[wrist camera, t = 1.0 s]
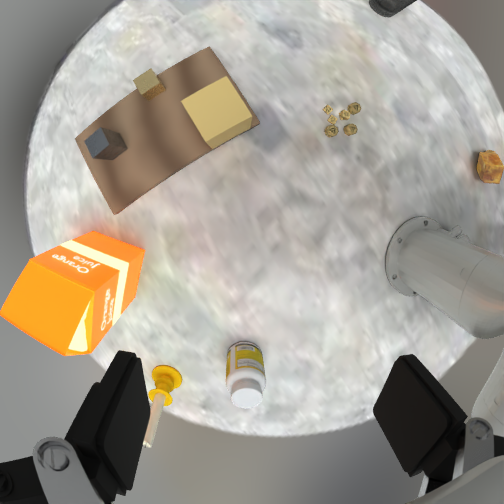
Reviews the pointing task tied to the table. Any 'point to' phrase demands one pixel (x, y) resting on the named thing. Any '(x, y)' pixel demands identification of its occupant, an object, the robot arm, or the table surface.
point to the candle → (160, 397)
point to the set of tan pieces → (344, 115)
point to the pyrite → (489, 167)
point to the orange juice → (75, 292)
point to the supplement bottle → (245, 375)
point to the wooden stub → (149, 85)
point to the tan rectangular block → (218, 112)
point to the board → (154, 132)
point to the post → (105, 144)
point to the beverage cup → (389, 6)
